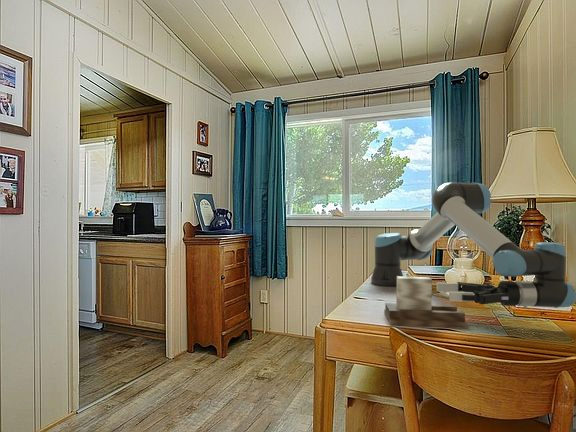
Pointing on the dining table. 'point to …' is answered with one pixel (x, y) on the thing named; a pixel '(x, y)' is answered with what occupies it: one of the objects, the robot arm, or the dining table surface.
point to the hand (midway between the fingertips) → (442, 291)
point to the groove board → (426, 323)
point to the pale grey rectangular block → (414, 293)
